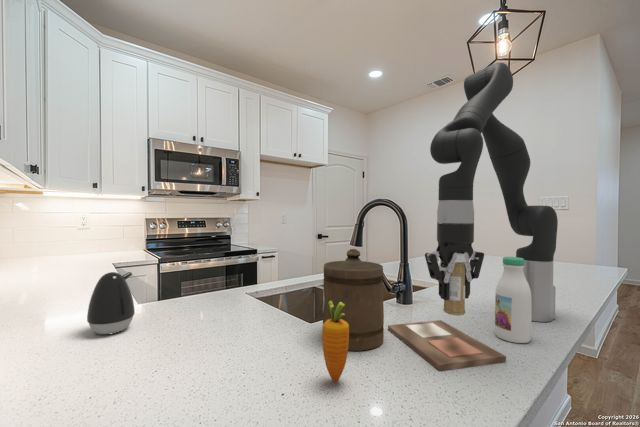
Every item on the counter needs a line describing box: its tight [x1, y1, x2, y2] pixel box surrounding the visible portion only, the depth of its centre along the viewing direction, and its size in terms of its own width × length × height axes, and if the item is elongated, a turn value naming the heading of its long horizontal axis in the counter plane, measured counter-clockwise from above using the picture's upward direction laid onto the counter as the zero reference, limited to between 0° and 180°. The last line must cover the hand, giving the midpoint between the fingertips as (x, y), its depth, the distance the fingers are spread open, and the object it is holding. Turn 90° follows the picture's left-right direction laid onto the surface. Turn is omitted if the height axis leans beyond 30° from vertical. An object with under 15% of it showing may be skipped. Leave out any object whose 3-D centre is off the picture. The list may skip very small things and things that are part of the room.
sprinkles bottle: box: [443, 253, 466, 316], centre depth 70 cm, size 5×5×13 cm
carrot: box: [321, 301, 349, 383], centre depth 57 cm, size 5×5×15 cm
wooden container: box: [322, 248, 385, 352], centre depth 77 cm, size 15×15×22 cm
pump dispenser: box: [86, 271, 136, 335], centre depth 81 cm, size 10×10×15 cm
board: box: [387, 320, 507, 372], centre depth 74 cm, size 16×22×2 cm
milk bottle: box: [494, 256, 532, 344], centre depth 78 cm, size 8×8×20 cm
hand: (454, 298), depth 69 cm, fingers closed on sprinkles bottle, 4 cm apart
